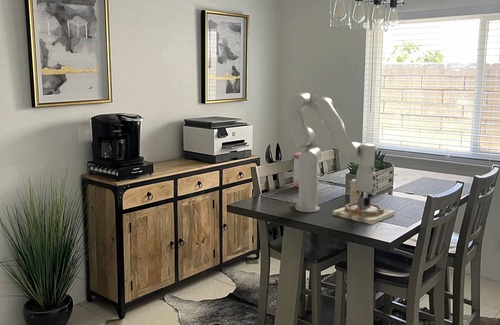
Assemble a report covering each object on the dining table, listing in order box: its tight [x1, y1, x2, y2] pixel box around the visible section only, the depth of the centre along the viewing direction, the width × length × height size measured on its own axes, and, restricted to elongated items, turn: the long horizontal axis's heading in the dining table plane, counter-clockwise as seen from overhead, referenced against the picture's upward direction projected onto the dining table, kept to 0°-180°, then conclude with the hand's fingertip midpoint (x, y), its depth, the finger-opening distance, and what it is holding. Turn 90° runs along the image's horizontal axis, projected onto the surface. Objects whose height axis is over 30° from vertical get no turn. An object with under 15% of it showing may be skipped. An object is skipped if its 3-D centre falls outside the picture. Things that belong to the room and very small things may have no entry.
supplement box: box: [349, 178, 366, 203], centre depth 274 cm, size 8×5×13 cm, turn 56°
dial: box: [350, 196, 378, 211], centre depth 254 cm, size 14×14×7 cm
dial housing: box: [332, 202, 396, 225], centre depth 254 cm, size 22×22×4 cm
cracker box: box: [292, 151, 302, 188], centre depth 308 cm, size 14×6×21 cm, turn 42°
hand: (364, 204), depth 254 cm, fingers closed on dial, 2 cm apart
